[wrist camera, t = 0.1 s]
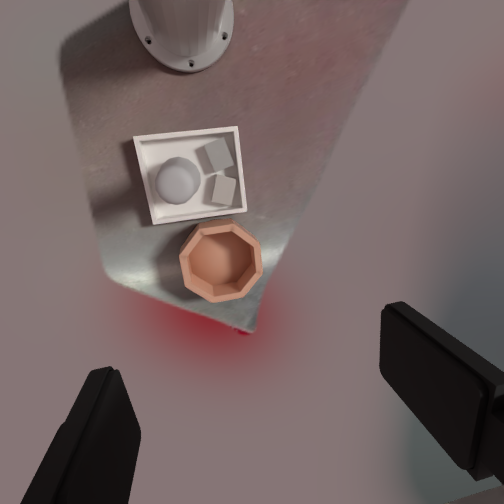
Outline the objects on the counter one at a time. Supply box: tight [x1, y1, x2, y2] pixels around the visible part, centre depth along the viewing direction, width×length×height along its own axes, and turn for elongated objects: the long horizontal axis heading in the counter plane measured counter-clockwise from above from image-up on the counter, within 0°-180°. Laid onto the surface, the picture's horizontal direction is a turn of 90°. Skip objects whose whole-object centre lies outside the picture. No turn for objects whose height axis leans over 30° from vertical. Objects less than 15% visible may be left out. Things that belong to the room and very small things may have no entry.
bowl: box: [179, 218, 263, 303], centre depth 45 cm, size 12×12×5 cm
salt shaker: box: [155, 156, 201, 205], centre depth 36 cm, size 6×6×13 cm
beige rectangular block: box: [211, 174, 237, 206], centre depth 43 cm, size 4×3×2 cm
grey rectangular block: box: [204, 137, 234, 173], centre depth 41 cm, size 4×3×2 cm
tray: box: [133, 126, 247, 225], centre depth 41 cm, size 12×14×2 cm
